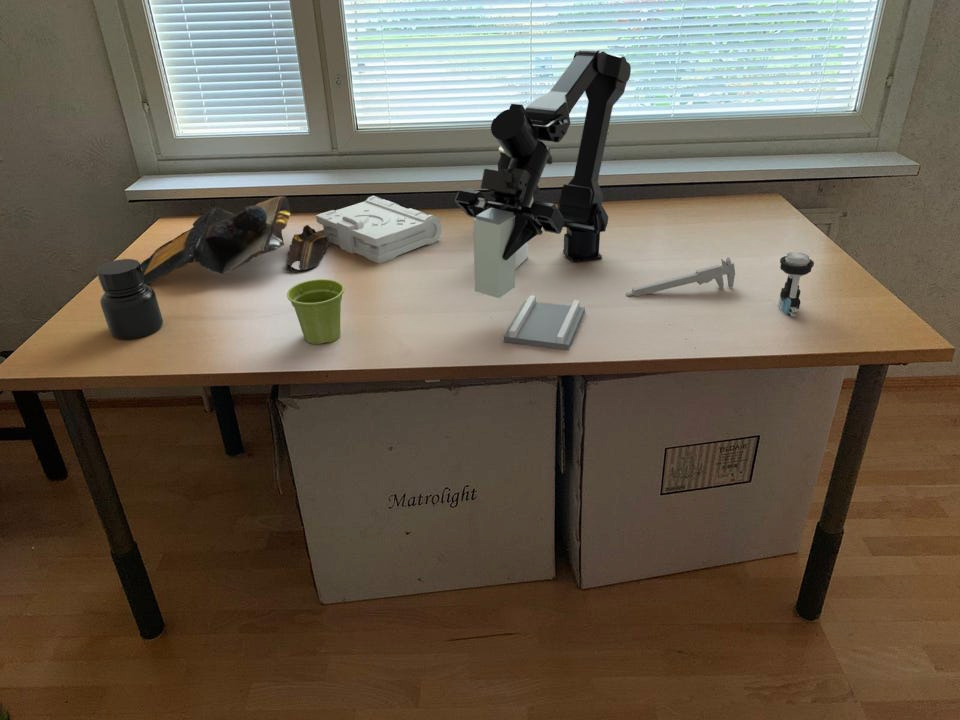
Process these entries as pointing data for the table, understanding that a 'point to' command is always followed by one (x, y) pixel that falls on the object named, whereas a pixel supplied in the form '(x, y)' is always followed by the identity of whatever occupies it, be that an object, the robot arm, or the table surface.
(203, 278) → the table surface
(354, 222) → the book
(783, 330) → the table surface
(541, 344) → the rail plate
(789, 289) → the push button
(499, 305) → the table surface
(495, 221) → the block
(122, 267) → the ink bottle
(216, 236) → the toolset
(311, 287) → the plant pot
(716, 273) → the caliper
